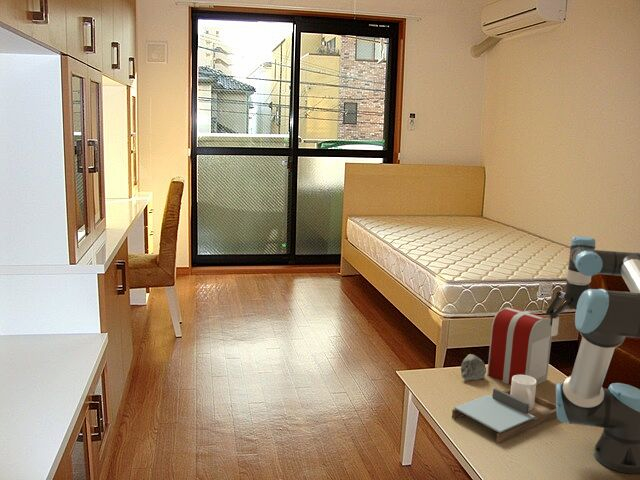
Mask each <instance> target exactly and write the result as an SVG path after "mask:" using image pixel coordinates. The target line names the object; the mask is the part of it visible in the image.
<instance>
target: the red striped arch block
mask: <svg viewBox="0 0 640 480" xmlns="http://www.w3.org/2000/svg"><path fill="white" fill-rule="evenodd" d="M550 322H551V318H549V317H546V316H544V315H543V316H542V315H540V314H535V313H533V312H531V311H528V310H522V309H518V308H516V307H512V306H511V307H504V308H502V309H501V310H499V311H497V312H496V313H495V315H494V318H493V319H492V323H491V329H490V330H491V331H490V343H489V350H488V351H489V352H488V360H487V361H488V363H487V371H486V374H487V376H488V377H490V378H493V379H495V380H497V381H500V382H502V383H504V384H506V385H510V386H511V383H512V377H513V376H514V375H527V376H530V377H533V378H534V379H536V381H537V382H536V386H537V385H540V384H541V383H544V382H546V381H548V373H549V364H550V357H551V356H550V354H551V348H552V347H551V346H552V338H553V336H551V330H552V326H551V325H550Z"/></svg>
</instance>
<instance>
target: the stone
mask: <svg viewBox="0 0 640 480" xmlns="http://www.w3.org/2000/svg"><path fill="white" fill-rule="evenodd" d="M460 372H461V373H460V374H461V375H460V376H461V377H462V379H463V380H465V381H467V382H469V381H476V380H482V379H484V378H485V375H486V374H487V367H486V364H485V362H484V361H483V360H482V359H481V358H480V357H478V356H477V355H475V354H473V353H472V354H471V353H470V354H467V356H466V357H465V358H464V359H463V360H462V362H461V365H460Z"/></svg>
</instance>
